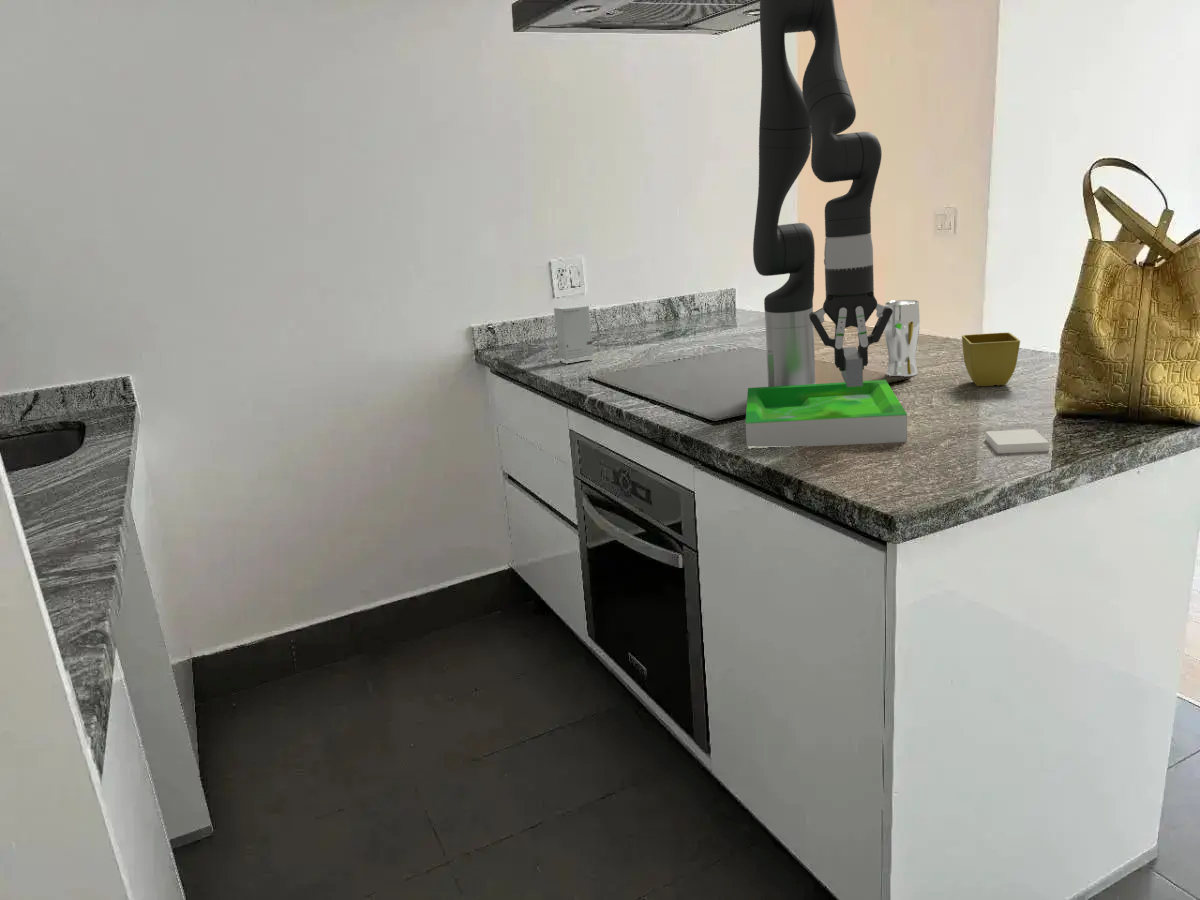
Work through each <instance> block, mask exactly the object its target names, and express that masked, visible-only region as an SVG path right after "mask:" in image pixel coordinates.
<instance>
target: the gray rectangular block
mask: <svg viewBox="0 0 1200 900" xmlns="http://www.w3.org/2000/svg"><path fill="white" fill-rule="evenodd" d="M843 349H844V371H840V374H841V376H842V378H843V382H845V384H846V386H847V387H856V386H863V381H864V377H863V376H864V375H863V373H864V371H863V364H862V357H861V355H860V354H859V352H858V347H856V346H848V347H843Z"/></svg>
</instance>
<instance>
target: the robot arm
mask: <svg viewBox="0 0 1200 900" xmlns="http://www.w3.org/2000/svg"><path fill="white" fill-rule="evenodd" d="M836 15H837V14H836V11H835V2H834V0H759V31H760V53H761V54H760V57H761V58H760V59H761V60H760V61H761V89H760V91H761V93H760V109H759V110H760V112H759V128H758V132H759V134H758V187H757V189H758V192H757V203H756V212H755V213H756V214H755V224H754V231H753V242H752V245H753V246H752V257H753V265H754V266H755V270H756V272H757V273H758V274H759V275H760V276H763V277H768V276H769V277H770V276H781V275H787V274H789V277H788V279H787V281H786V282H785V283H784V284H783V285H782V286H780V287H779V288H777V289H776V290H774V291H772V292H770V293H769V294H767V295H766V296H765V297H764V299H763V300H764V301H763V302H764V303H763V304H764V306H763V307H764V317H765V318H764V320H765V321H764V322H765V323H764V326H765V345H766V346H765V347H766V366H767V367H766V369H767V370H766V371H767V387H773V386H790V385H807V384H817V382H816V363H815V362H816V361H815V360H816V359H815V356H816V355H815V333H814V332H815V331H816V332H817V334H818V336H819V339H820V340H821V341H822V343H823V345H824V346H825V347H831V348H833V351H834V354H833V355H834V365H835V367H836V369H839V372H841V371H844V349H843V348H844V347H843V345H844V336H845V330H846V329H847V328H849V327H855V329H856V331H857V336H858V345H857V350H858V352H859V354H860V355H861V357H862V364H863V370H864V369H865V367H867V366H868V364H869V354H868V351H869V349H868V348H869V346H870V345H872V344H875V343H879V342H880V339H881V338H882V336H883V333H884V332H885V331H884V329H885V327H886V325H887V323H888V321H889V319H890V317H891V315H892V312H893V311H892V309H891V308H890V307H888V306H885V305H883V304H880V303H878V300H877V298H876V297H875V291H874V290H875V288H874V285H875V284H874V247H873V240H872V225H871V224H872V221H871V219H872V218H871V214H872V213H871V208H872V201H873V198H874V197H873V195H874V191H875V186H876V182H877V178H878V174H879V170H880V168H881V162H882V157H883V156H882V147H881V143H880V140H879V139H878V137H876V135H875V134H873V133H872V132H871V131H870V132H869V131H861V132H859V131H858V132H849V133H848V132H847V133H842V132H845V131H846V130H848V129H849V128H850V127H851V126H852V125H853V124H854V122H855V120H856V117H857V110H856V106H855V103H854V99H853V96H852V93H851V90H850V87H849V83H848V81H847V77H846V74H845V70H844V65H843V60H842V54H841V47H840V39H839V31H838V29H839V28H838V23H837V16H836ZM802 32H803V33H804V32H811V33H812V35H813V38H814V48H813V50H812V53H811V55H810V59H809V60H808V62H807V63H808V64H807V66H806V68H805V71H804V74H803V77H802V84H801V85H802V86H801V87H802V88H801V87H800V85H799V84H798V82H797V80H796V78H795V77H794V74H793V72H792V70H791V67H790V65H789V62H788V58H787V51H786V44H785V43H786V42H785V40H786V39H785V37H786V36H785V35H786V34H791V33H802ZM810 154H811V156H810ZM809 156H810V163H811V164H810V166H811V169H812V172H813V174H814V176H815V177H816V178H817V179H818V181H819V180H820V181H821V182H823V183H837V182H846V181H847V182H848V181H852V183H851V186H850V188H849V190H848V191H847V193H845V194H844V195H840V196H837V197H834V198H832V199H830V200H828V201H827V202H826V204H825V207H824V229H825V230H824V233H825V234H824V237H825V240H824V241H825V243H824V253H823V255H824V259H823V264H824V278H825V279H824V281H825V283H824V285H825V299H824V302H823V304H822V307H821V308H820V309H818V310H816V311H814V301H813V300H814V294H815V259H816V258H815V253H816V250H815V249H816V248H815V240H814V239H815V238H814V234H813V231H812V229H811V227H810V226H809V225H808V224H807V223H805V222H797V223H796V222H795V223H786V224H779V220H780V215H781V211H782V206H783V204H784V201H785V199H786V197H787V194H788V193H789V191H790V190H791V188H792V186H793V184H794V183H796V182H795V181H796V180H797V179H798V177H799V176H800V174H801V172H802V170H803V169H804V168H805V165H806V164H807V161H808V159H809ZM875 310H876V313H875V315H876V317H877V321H876V322H875V324H874V327H873V329H872V331H871V333H870V334H869V335H868V333H867V325H866V323H867V322H868V321H869V319H870V317H871V316H872V314H873V313H874V311H875ZM825 314H826V315H827V316H828V318H829V319H830V320H831V321H832V322H833V323H834V325H835V326H834V327H835V328H834V336H833V337H834V338H832V337H829V334H828V333H827V331H826V328H825V327H824V326H823V323H824V322H825ZM814 329H815V330H814Z"/></svg>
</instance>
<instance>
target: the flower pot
mask: <svg viewBox="0 0 1200 900" xmlns="http://www.w3.org/2000/svg"><path fill="white" fill-rule="evenodd" d="M961 341H962V352H963V360H964V365H965V368H966V371H967V373H968V376H969V377H970V379H971V381H972V382H973V383H974V384H975V386H976V387H979V386H982V387H990V386H991V387H993V386H994V385H997V386H1000V385H1002V386H1006V385H1007V383H1008V382H1009V381H1010V380H1011V378H1012V376H1013V374H1014V372H1015V370H1016V366H1017V362H1018V358H1019V351H1020V344H1021V340H1020V339H1019V338H1017V337H1016V336H1015V335H1013V334H1012V333H1011V332H993V333H992V332H990V333H976V334H973V333H972V334H964V335H961Z"/></svg>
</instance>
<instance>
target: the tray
mask: <svg viewBox="0 0 1200 900" xmlns="http://www.w3.org/2000/svg"><path fill="white" fill-rule="evenodd" d="M746 394H747V395H746V396H747V397H746V412H745V413H746V414H745V436H746V437H745V438H746V440H745V441H746V447H747V446H807V447H823V446H824V447H825V446H846V445H848V446H849V445H868V444H891V443H908V413H907V412H906V410H905V408H904V407H903V405H902V404H901V402H900V401H899V399H898V397H897V395H896V394H895V393H894V391H893V388H892V387H891V386H890V385H889V383H888V381H887V380H886V379H878V380H877V379H876V380H875V379H874V380H863V386H856V387H847V386H846V384H845V381H843V382H841V381H840V382H827V383H816V384H807V385H790V386H773V387H768V386H759V387H758V386H756V387H748V388H747V393H746Z"/></svg>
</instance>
